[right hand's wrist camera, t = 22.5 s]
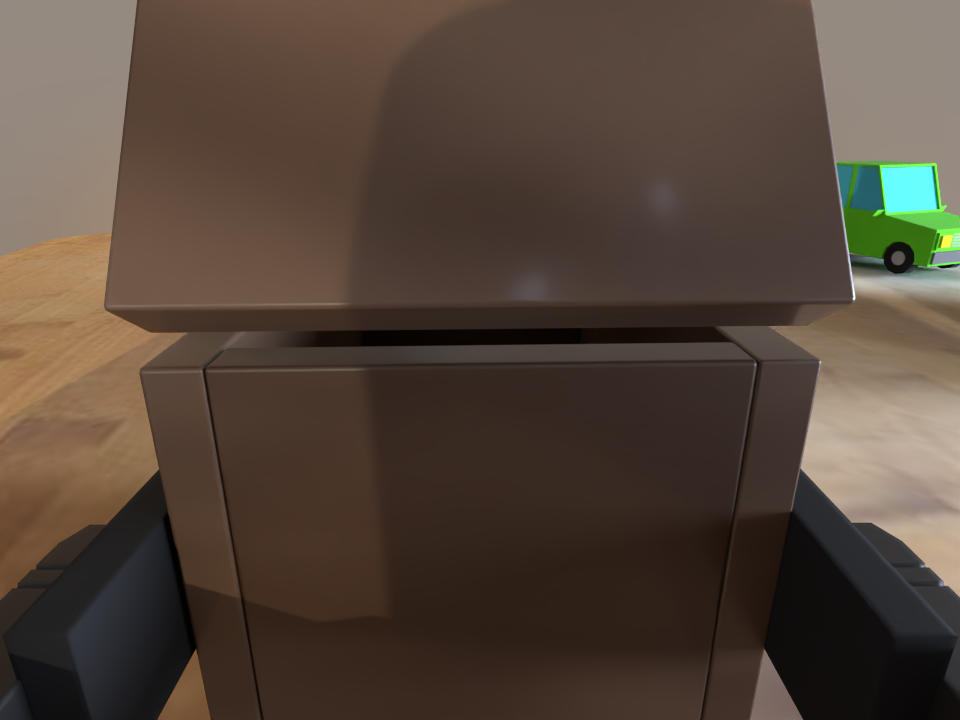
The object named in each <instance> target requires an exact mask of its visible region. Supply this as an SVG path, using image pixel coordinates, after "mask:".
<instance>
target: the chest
mask: <svg viewBox="0 0 960 720" xmlns="http://www.w3.org/2000/svg"><path fill="white" fill-rule="evenodd" d="M820 366H821V361H820V359H818V358H817V357H815V356H813V355H812V354H810V353H809V352H807V351H806V350H804V349H803V348H801V347H799V346H798V345H796V344H795V343H793V342H792V341H790V340H789V339H787V338H786V337H784V336H782V335H781V334H779V333H778V332H776V331H775V330H773V329H772V328H770V327H769V326H712V327H621V328H529V329H438V330H347V331H256V332H189V333H187V334H186V335H185V336H183V337H182V338H181V339H179V340H178V341H177V342H175V343H174V344H173V345H171V346H170V347H168V348H167V349H166V350H164V351H163V352H162V353H160V354H159V355H158V356H156V357H155V358H154V359H152V360H151V361H150V362H148V363H147V364H146V365H144V366H143V367H142V368H141V369H140V378H141V383H142V388H143V393H144V397H145V402H146V407H147V412H148V417H149V422H150V427H151V431H152V436H153V441H154V446H155V451H156V456H157V460H158V465H159V470H160V475H161V480H162V485H163V490H164V494H165V499H166V504H167V509H168V514H169V519H170V524H171V528H172V533H173V538H174V543H175V548H176V553H177V557H178V562H179V567H180V572H181V577H182V582H183V587H184V591H185V596H186V601H187V606H188V611H189V616H190V621H191V625H192V630H193V635H194V640H195V645H196V650H197V654H198V659H199V664H200V669H201V674H202V679H203V684H204V688H205V693H206V698H207V703H208V708H209V713H210V718H211V720H750V719H751V714H752V709H753V704H754V699H755V694H756V689H757V684H758V679H759V674H760V669H761V664H762V659H763V653H764V647H765V642H766V637H767V632H768V627H769V622H770V617H771V612H772V607H773V602H774V597H775V592H776V587H777V582H778V577H779V572H780V567H781V562H782V557H783V552H784V547H785V542H786V537H787V532H788V527H789V522H790V517H791V512H792V507H793V502H794V497H795V492H796V487H797V482H798V477H799V472H800V467H801V462H802V457H803V452H804V447H805V442H806V437H807V432H808V427H809V422H810V417H811V412H812V407H813V402H814V397H815V392H816V387H817V382H818V376H819V371H820Z"/></svg>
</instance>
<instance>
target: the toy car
mask: <svg viewBox="0 0 960 720" xmlns="http://www.w3.org/2000/svg"><path fill="white" fill-rule="evenodd" d="M836 166H837V173H838V180H839V187H840V194H841V201H842V207H843V214H844V221H845V228H846V235H847V242H848V249H849V253H854V254H859V255H864V256H869V257H874V258H880V259H884V264H885V266H886V268H887V269H888V270H889V271H891V272H893V273H907V272H911V271H912V270H914V269H915V268H917V266H918V265H919V266H925V267H930V266H937V267H940V268H952V267H957V266H959V265H960V216H956V215H953V214H949V213H946V212H943V210H944V209H945V208H946V206H941V200H940V192H939V184H938V175H937V166H936V164H934V163H912V162H892V161H859V162H836Z"/></svg>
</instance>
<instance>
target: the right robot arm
mask: <svg viewBox="0 0 960 720" xmlns="http://www.w3.org/2000/svg"><path fill="white" fill-rule="evenodd" d="M195 649H196V645H195V640H194V635H193V630H192V625H191V621H190V616H189V611H188V606H187V601H186V596H185V591H184V587H183V582H182V577H181V572H180V567H179V562H178V557H177V553H176V548H175V543H174V538H173V533H172V528H171V524H170V519H169V514H168V509H167V504H166V499H165V494H164V490H163V485H162V480H161V475H160V470H158V471H157V472H156V473H155V474H154V475H153V476H152V478H151V479H150V480H149V481H148V482H147V483H146V484H145V485H144V486H143V487H142V488H141V489H140V490H139V491H138V492H137V493H136V494H135V496H134V497H133V498H132V499H131V500H130V501H129V502H128V503H127V504H126V505H125V506H124V507H123V508H122V509H121V510H120V511H119V512H118V513H117V515H116V516H115V517H114V518H113V519H112V520H111V521H110V522H109V523H108V524H107V525H89V526H87V527H85V528H84V529H82V530H80V531H79V532H77V533H75V534H74V535H72V536H70V537H69V538H67V539H65V540H64V541H62V542H60V543H59V544H58V545H57V546H56V547H55V548H54V549H53V550H52V551H51V552H50V553H49V554H48V555H47V556H46V557H44V558H43V559H42V560H41V561H40V562H39V563H38V564H37V567H36V570H31V571H30V572H29V573H28V574H27V575H26V576H25V577H24V578H23V579H22V580H21V581H20V582H19V583H18V587H17V588H13V589H12V590H11V591H10V592H9V593H8V594H7V595H6V596H5V597H4V598H3V599H2V600H1V601H0V720H157V719H158V717H159V715H160V713H161V711H162V710H163V708H164V706H165V704H166V702H167V701H168V699H169V697H170V695H171V693H172V691H173V690H174V688H175V686H176V684H177V682H178V680H179V679H180V677H181V675H182V673H183V671H184V669H185V668H186V666H187V664H188V662H189V660H190V659H191V657H192V655H193V653H194V651H195ZM764 649H765V651H766V652H767V654H768V656H769V658H770V660H771V662H772V663H773V665H774V667H775V669H776V671H777V672H778V674H779V676H780V678H781V680H782V682H783V683H784V685H785V687H786V689H787V691H788V693H789V694H790V696H791V698H792V700H793V702H794V704H795V705H796V707H797V709H798V711H799V713H800V714H801V716H802V718H803V720H960V597H959V596H958V595H957V594H956V593H955V592H954V591H953V590H952V589H951V588H949V587H948V586H944V584H943V581H942V580H941V579H940V578H939V577H938V576H937V575H936V574H935V573H934V572H933V571H932V570H931V569H930V568H926V567H925V563H924V562H923V561H922V560H921V559H920V558H919V557H918V556H917V555H916V554H915V553H914V552H913V551H912V550H911V549H909V548H908V547H907V546H906V545H905V544H904V543H903V542H902V541H901V540H899V539H897V538H896V537H894V536H892V535H891V534H889V533H887V532H886V531H884V530H882V529H881V528H879V527H877V526H876V525H874V524H872V523H851V522H850V520H849V519H848V518H847V517H846V516H845V515H844V514H843V513H842V512H841V511H840V510H839V509H838V508H837V507H836V506H835V505H834V504H833V503H832V501H831V500H830V499H829V498H828V497H827V496H826V495H825V494H824V493H823V492H822V491H821V490H820V489H819V488H818V487H817V486H816V485H815V483H814V482H813V481H812V480H811V479H810V478H809V477H808V476H807V475H806V474H805V473H804V472H803V471H802V470H801V469H800V472H799V477H798V482H797V487H796V492H795V497H794V502H793V507H792V512H791V517H790V522H789V527H788V532H787V537H786V542H785V547H784V552H783V557H782V562H781V567H780V572H779V577H778V582H777V587H776V592H775V597H774V602H773V607H772V612H771V617H770V622H769V627H768V632H767V637H766V642H765V647H764Z"/></svg>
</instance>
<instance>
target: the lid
mask: <svg viewBox="0 0 960 720" xmlns="http://www.w3.org/2000/svg"><path fill="white" fill-rule="evenodd" d="M854 301H855V291H854V284H853V277H852V270H851V263H850V256H849V249H848V242H847V235H846V228H845V221H844V214H843V207H842V201H841V194H840V187H839V180H838V173H837V166H836V159H835V152H834V145H833V138H832V131H831V124H830V117H829V110H828V103H827V96H826V89H825V82H824V76H823V69H822V62H821V55H820V48H819V41H818V34H817V27H816V20H815V13H814V6H813V0H137V8H136V18H135V27H134V36H133V45H132V54H131V63H130V72H129V82H128V91H127V100H126V109H125V118H124V127H123V137H122V146H121V155H120V164H119V173H118V182H117V192H116V201H115V210H114V219H113V228H112V237H111V247H110V256H109V265H108V274H107V283H106V293H105V302H104V306H105V309H106V311H108V312H110V313H112V314H114V315H116V316H118V317H120V318H122V319H124V320H126V321H128V322H130V323H132V324H134V325H136V326H138V327H140V328H142V329H144V330H146V331H149V332H151V333H165V332H256V331H347V330H438V329H529V328H621V327H712V326H803V325H809V324H811V323H813V322H815V321H817V320H819V319H821V318H823V317H825V316H827V315H830V314H832V313H834V312H836V311H838V310H840V309H842V308H844V307H846V306H848V305H850V304H852V303H854Z"/></svg>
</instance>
